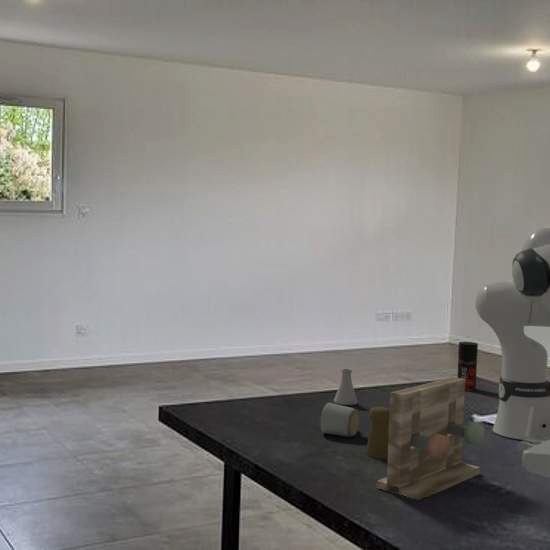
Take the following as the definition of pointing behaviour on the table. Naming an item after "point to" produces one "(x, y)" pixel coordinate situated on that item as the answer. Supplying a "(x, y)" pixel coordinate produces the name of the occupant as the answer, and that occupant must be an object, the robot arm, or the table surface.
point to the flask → (346, 390)
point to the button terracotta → (432, 444)
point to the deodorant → (468, 364)
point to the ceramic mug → (339, 420)
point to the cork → (378, 433)
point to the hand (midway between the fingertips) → (521, 444)
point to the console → (426, 421)
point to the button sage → (468, 432)
